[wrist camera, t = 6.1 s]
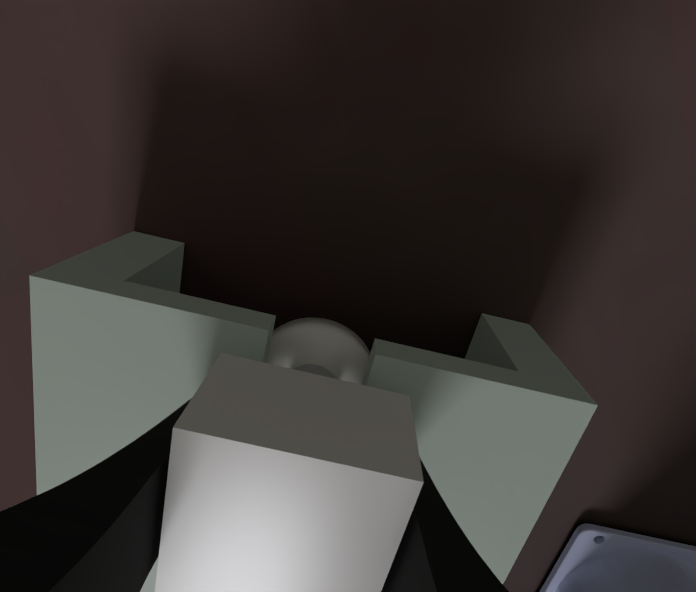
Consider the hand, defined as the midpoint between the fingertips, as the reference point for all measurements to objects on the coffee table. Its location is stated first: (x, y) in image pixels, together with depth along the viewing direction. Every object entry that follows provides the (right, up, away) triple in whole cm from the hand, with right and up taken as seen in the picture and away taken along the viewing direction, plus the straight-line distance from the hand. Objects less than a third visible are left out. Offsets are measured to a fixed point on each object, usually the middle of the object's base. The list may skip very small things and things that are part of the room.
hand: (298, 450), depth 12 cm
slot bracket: (-1, -1, +7) cm, 8 cm away
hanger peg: (0, +2, +4) cm, 4 cm away
